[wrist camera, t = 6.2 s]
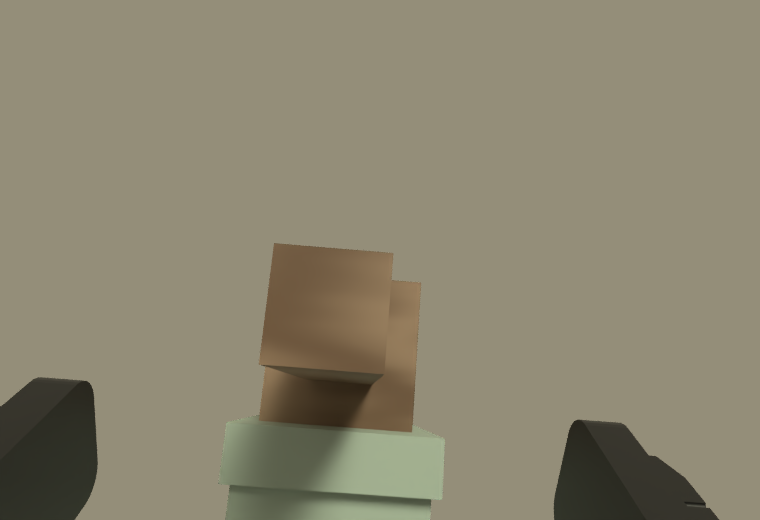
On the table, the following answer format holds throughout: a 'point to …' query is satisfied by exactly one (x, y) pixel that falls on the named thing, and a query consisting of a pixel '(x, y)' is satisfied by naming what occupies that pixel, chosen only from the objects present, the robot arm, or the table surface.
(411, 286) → the mallet
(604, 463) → the robot arm
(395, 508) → the stand
